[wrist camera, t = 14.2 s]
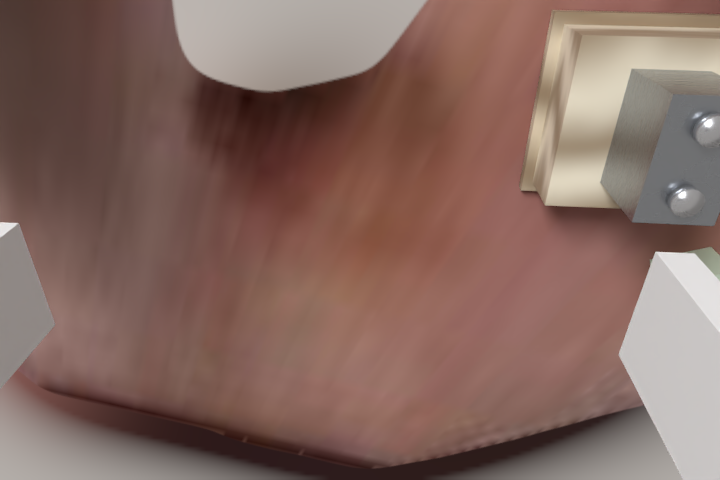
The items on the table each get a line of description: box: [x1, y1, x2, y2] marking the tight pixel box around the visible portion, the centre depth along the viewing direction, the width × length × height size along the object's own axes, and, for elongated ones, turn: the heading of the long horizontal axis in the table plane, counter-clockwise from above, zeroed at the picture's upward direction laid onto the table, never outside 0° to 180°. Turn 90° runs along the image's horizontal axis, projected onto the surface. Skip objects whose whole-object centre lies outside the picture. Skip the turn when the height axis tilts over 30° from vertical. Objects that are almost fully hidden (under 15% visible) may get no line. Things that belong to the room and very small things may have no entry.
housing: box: [600, 69, 720, 226], centre depth 33 cm, size 5×8×7 cm, turn 179°
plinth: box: [519, 10, 720, 209], centre depth 38 cm, size 14×14×5 cm
